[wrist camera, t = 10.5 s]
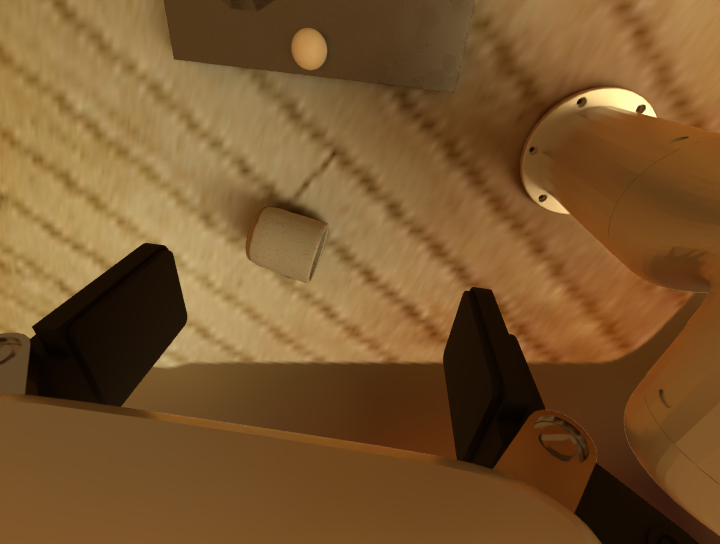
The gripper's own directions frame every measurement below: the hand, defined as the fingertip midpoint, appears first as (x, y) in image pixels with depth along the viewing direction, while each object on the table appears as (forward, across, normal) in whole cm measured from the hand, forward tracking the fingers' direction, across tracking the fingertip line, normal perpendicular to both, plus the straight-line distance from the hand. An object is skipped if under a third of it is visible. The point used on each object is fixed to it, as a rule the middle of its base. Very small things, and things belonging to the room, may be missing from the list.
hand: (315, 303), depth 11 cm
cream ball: (+25, +6, -6) cm, 27 cm away
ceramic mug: (+31, +8, +15) cm, 35 cm away
